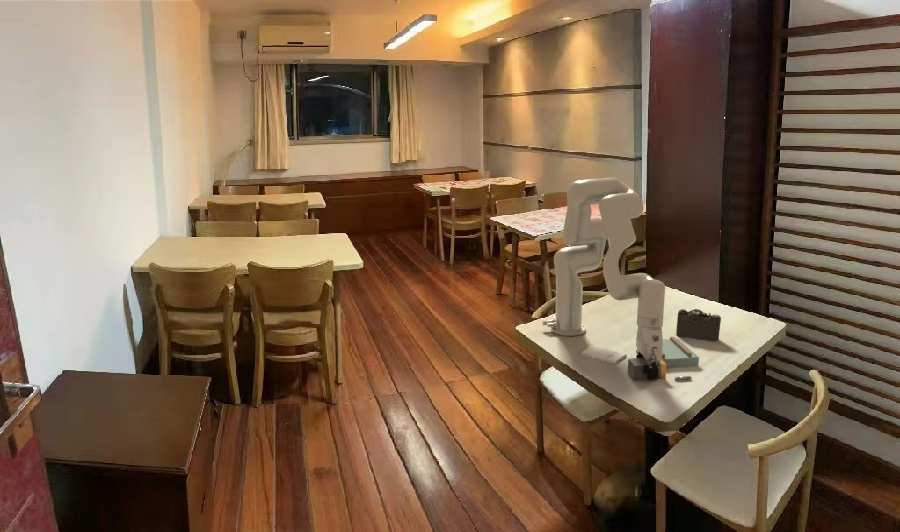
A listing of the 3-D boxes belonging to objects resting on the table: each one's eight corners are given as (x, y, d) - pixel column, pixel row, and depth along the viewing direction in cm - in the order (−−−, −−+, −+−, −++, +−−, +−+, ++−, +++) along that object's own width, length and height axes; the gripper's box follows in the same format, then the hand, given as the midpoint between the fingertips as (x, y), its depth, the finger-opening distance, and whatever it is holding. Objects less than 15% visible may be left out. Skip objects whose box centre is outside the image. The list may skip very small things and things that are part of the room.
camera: (720, 332, 231) (722, 306, 228) (718, 343, 222) (720, 316, 219) (678, 327, 237) (680, 301, 234) (675, 337, 228) (677, 311, 225)
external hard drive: (593, 348, 221) (626, 357, 213) (581, 356, 215) (614, 365, 207) (593, 344, 220) (626, 353, 212) (581, 351, 215) (615, 361, 207)
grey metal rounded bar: (675, 381, 194) (675, 378, 194) (673, 380, 195) (674, 376, 195) (692, 380, 194) (692, 377, 194) (690, 379, 196) (690, 375, 195)
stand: (655, 368, 203) (656, 356, 202) (637, 348, 218) (638, 337, 217) (698, 365, 204) (699, 353, 203) (677, 346, 219) (678, 335, 218)
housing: (633, 381, 195) (634, 366, 194) (627, 373, 200) (628, 358, 199) (665, 379, 196) (666, 364, 194) (658, 371, 201) (659, 356, 200)
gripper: (673, 330, 185) (669, 384, 190) (651, 310, 202) (647, 360, 206) (648, 331, 184) (645, 385, 189) (627, 311, 201) (625, 361, 206)
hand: (646, 372), depth 198 cm, fingers open, 8 cm apart
